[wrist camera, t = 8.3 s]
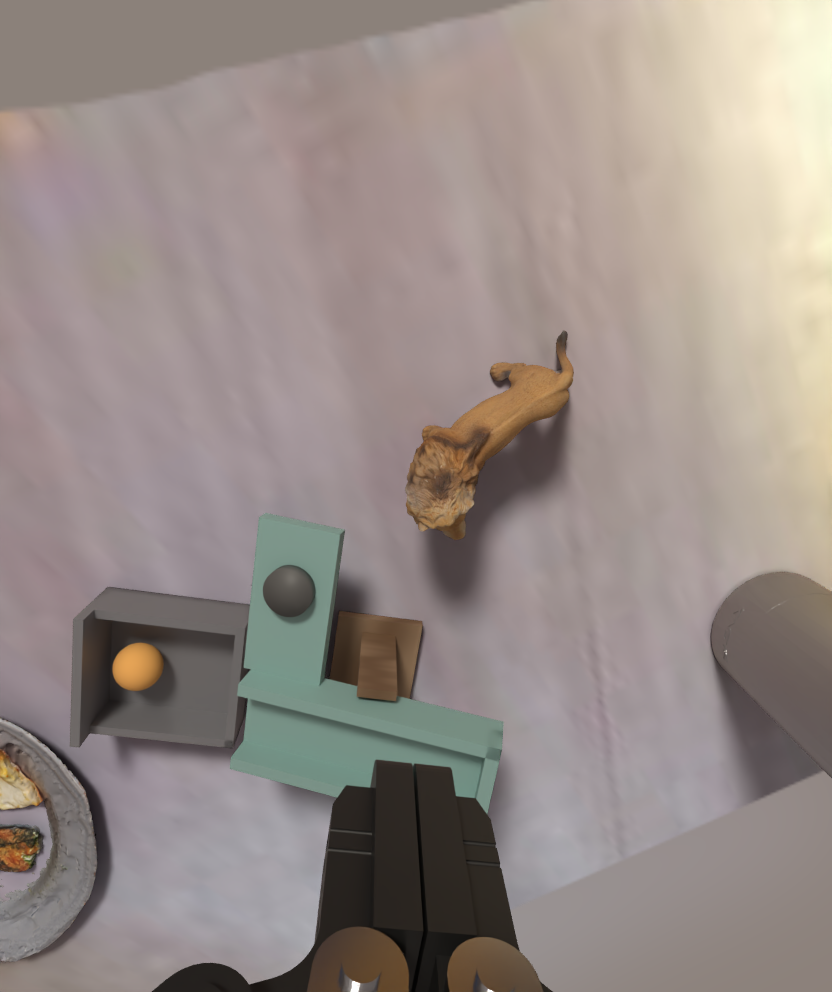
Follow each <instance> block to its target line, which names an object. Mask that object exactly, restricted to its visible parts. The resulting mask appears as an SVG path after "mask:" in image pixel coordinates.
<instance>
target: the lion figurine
mask: <svg viewBox="0 0 832 992" xmlns="http://www.w3.org/2000/svg"><path fill="white" fill-rule="evenodd" d="M567 336H568V334H567V332H566V331H563V332H562V333H561V335H560V336H559V337H558V339H557V342H556V352H557V355H558V359H559V361H560V365H561V368H562V370H558V371H556V372H554V371H553V370H551V369H548V368H545V367H542V366H538V365H529V366H526V364H524V363H514V364H510V363H497V364H494V365H493V366H492V367H491V370H490V374H491V376H492V377H493V379H494V380H496V381H502V380H504V379H506V378H508V377H509V381H510V382H511V387H510V388H509V389H508V390H507V391H505V392H503V393H501V394H499V395H496V396H493V397H491V398H489V399H487V400H485V401H483V402H481V403H480V404H478V405H477V406H475V407H474V408H473V409H471V410H470V411H468V412H467V413H465V414H464V415H463V416H461V417H460V418H459V419H458V420H457V421H456V422H455V423H454V424H453V426H452V427H451V428H441V427H439V426H427V427H425V428H424V429H423V433H422V437H423V440H424V442H423V443H422V444H421V446H420V447H419V448H417V449H416V453H415V455H414V459H413V462H412V463H411V465H410V469H409V473H408V475H407V480H408V483H407V486H406V489H405V490H406V494H407V503H406V506H407V513H408V514H409V515H411V516H413V518H414V520H415V522H416V524H418V527H419V530H420V531H425V530H427V529H429V528H432V529H435V528H436V529H438V530H440V531H443V533H444V534H445V535H446V536H448V537H450V538H452V539H454V540H459V539H462V538H463V537H464V536H465V534H466V533H465V529H466V523H465V521H464V519H465V516H466V513H467V512H468V510H469V509H470V508H472V506H473V505H474V501H473V499H474V494H475V492H476V489H475V486H476V484H477V481H478V474H479V471H480V470H481V469H482V468H483V466H484V464H485V461H486V460H487V459H489V458H490V457H492V456H494V455H495V454H497V453H498V452H499V451H501V450H502V449H503V448H504V447H505V446H506V445H507V444H509V443H510V442H511V441H512V440H513V439H514V437H515V436H516V435H517V434H518V433H519V432H520V431H521V430H522V429H523V428H524V427H526V426H527V425H529V424H530V423H532V422H535V421H538V420H542V419H545V418H549V417H552V416H553V415H555V414H556V413H557V412H558V411H559V410H560V409H561V408H562V407H563V406H564V405H565V404H566V402H567V401H568V399H569V392H568V390H567V389H568V388H569V387H570V386H571V384H572V382H573V378H572V377H573V373H574V372H573V367H572V365H571V363H570V361H569V360H568V358H567V356H566V352H565V345H566V340H567Z"/></svg>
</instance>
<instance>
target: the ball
mask: <svg viewBox="0 0 832 992" xmlns="http://www.w3.org/2000/svg"><path fill="white" fill-rule="evenodd" d="M163 666H164V662H163V657H162V655H161V653H160V652H159V650H158V649H157V648H156V647H154V646H152V645H150V644H147V643H134V644H131V645H128V646H127V647H125V648H124V649H122V650H121V651H120V652H119V653H118V655H117V656H116V658H115V660H114V663H113V668H112V670H113V676H114V679H115V680H116V682H117V683H118V684H119V685H120V686H121V687H123V688H124V689H127V690H130V691H140V690H144V689H147V688H149V687H150V686H152V685H153V684H155V683H156V681H157V680H158V679H159V678H160V676H161V674H162V671H163Z"/></svg>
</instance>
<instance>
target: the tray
mask: <svg viewBox="0 0 832 992" xmlns="http://www.w3.org/2000/svg"><path fill="white" fill-rule="evenodd" d="M249 610H250V605H248V604H240V603H232V602H225V601H217V600H209V599H201V598H193V597H185V596H177V595H169V594H161V593H153V592H145V591H137V590H129V589H121V588H113V587H107V588H106V589H105V590H104V591H103V592H102V593H101V594H100V595H99V596H97V597H96V598H95V599H94V600H93V601H92V602H91V603H90V604H89V605H88V606H87V607H86V608H85V609H83V610H82V611H81V612H80V613H79V614H78V615H77V616H76V617H75V618H74V619H73V647H72V685H71V722H70V747H80V746H81V745H82V743H83V742H84V740H85V739H86V738H87V736H88V735H89V734H90V733H92V734H102V735H111V736H121V737H130V738H140V739H149V740H159V741H168V742H178V743H187V744H197V745H206V746H216V747H225V748H233V747H234V744H235V741H236V738H237V736H238V733H239V730H240V727H241V725H242V722H243V719H244V712H245V703H246V698H244V697H240V696H237V692H238V684H239V683H240V682H241V680H242V679H243V678H244V677H245V676H246V675H247V674H248V672H249V669H247V668H244V659H245V649H246V639H247V630H248V620H249ZM134 643H147V644H150V645H152V646H154V647H156V648H157V649H158V650H159V652H160V653H161V655H162V657H163V662H164V666H163V671H162V674H161V676H160V678H159V679H158V680H157V681H156V683H155V684H153V685H152V686H150V687H149V688H147V689H144V690H140V691H130V690H127V689H124V688H123V687H121V686H120V685H119V684H118V683H117V682H116V680H115V679H114V676H113V670H112V668H113V663H114V660H115V658H116V656H117V655H118V653H119V652H120V651H121V650H122V649H124V648H125V647H127V646H128V645H131V644H134Z"/></svg>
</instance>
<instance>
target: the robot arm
mask: <svg viewBox="0 0 832 992" xmlns="http://www.w3.org/2000/svg"><path fill="white" fill-rule="evenodd" d="M711 642H712V648H713V652H714V655H715V657H716V659H717V661H718V663H719V664H720V666H721V667H722V668H723V669H724V670H725V671H726V672H727V673H728V674H729V675H730V676H731V677H732V678H733V679H734V680H735V681H736V682H737V683H738V684H739V685H740V686H741V687H742V688H743V689H744V690H745V691H746V692H747V693H748V694H749V695H750V696H751V698H752V699H753V700H754V701H755V702H756V703H757V704H758V705H759V706H760V707H761V708H762V709H763V710H764V711H765V712H766V713H767V714H768V715H769V716H770V717H771V718H772V719H773V720H774V721H775V722H776V723H777V724H778V725H779V726H780V727H781V728H782V729H783V730H784V731H785V732H786V733H787V734H788V735H789V736H790V737H791V738H792V739H793V740H794V741H795V742H796V743H797V744H798V745H799V746H800V747H801V748H802V749H803V750H804V751H805V752H806V753H807V754H808V755H809V756H810V757H811V758H812V759H813V760H814V761H815V762H816V763H817V764H818V765H819V766H820V767H821V768H822V769H823V770H824V771H825V772H826V773H827V774H828V775H829V776H830V777H831V778H832V592H831V591H830V590H828V589H826V588H825V587H823V586H821V585H819V584H818V583H816V582H814V581H813V580H811V579H809V578H807V577H804V576H802V575H799V574H796V573H789V572H773V573H768V574H764V575H761V576H758V577H756V578H753V579H751V580H749V581H747V582H745V583H744V584H742V585H741V586H740V587H738V588H737V589H735V590H734V591H733V592H732V593H731V594H730V595H729V596H728V597H727V598H726V600H725V601H724V603H723V604H722V606H721V607H720V608H719V610H718V612H717V615H716V617H715V619H714V622H713V627H712V632H711ZM495 845H496V842H495V838H494V833H493V828H492V824H491V819H490V818H489V817H488V815H487V814H486V812H485V811H484V809H483V808H482V806H481V805H480V804H479V802H478V801H477V799H476V798H470V797H460V796H456V793H455V786H454V780H453V773H452V769H451V767H444V766H435V765H425V764H416V763H414V765H412V763H405V762H395V761H386V760H377V759H376V760H375V763H374V767H373V773H372V779H371V785H370V787H360V786H350V785H346V786H345V787H344V789H343V790H342V792H341V793H340V795H339V796H338V797H337V799H336V800H335V802H334V803H333V807H332V813H331V820H330V827H329V833H328V840H327V846H326V853H325V859H324V866H323V874H322V883H321V891H320V900H319V909H318V918H317V926H316V935H315V944H314V946H313V948H312V949H311V951H310V952H309V954H308V955H307V956H306V958H305V959H304V960H303V961H302V962H301V963H300V964H298V965H297V966H296V967H294V968H293V969H292V970H290V971H288V972H286V973H284V974H283V975H280V976H277V977H275V978H272V979H268V980H264V981H261V982H257V983H253V984H250V985H249V984H248V982H247V981H246V980H245V979H244V977H243V976H242V975H241V974H239V973H238V972H237V971H236V970H234V969H232V968H230V967H228V966H225V965H222V964H216V963H201V964H196V965H192V966H189V967H187V968H184V969H182V970H180V971H178V972H176V973H175V974H173V975H172V976H171V977H169V978H168V979H166V980H165V981H164V982H163V983H162V984H160V985H159V986H158V987H157V988H156V989H154V990H153V991H152V992H552V991H551V990H550V989H548V988H547V987H546V986H545V985H544V984H542V983H541V982H540V980H539V978H538V976H537V973H536V971H535V969H534V968H533V966H532V965H531V963H530V962H529V961H528V959H527V958H526V957H525V956H524V955H523V954H522V953H521V952H520V950H519V947H518V944H517V939H516V935H515V930H514V925H513V921H512V916H511V911H510V907H509V902H508V898H507V893H506V888H505V884H504V879H503V875H502V870H501V868H500V861H499V856H498V851H497V848H496V847H495Z"/></svg>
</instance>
